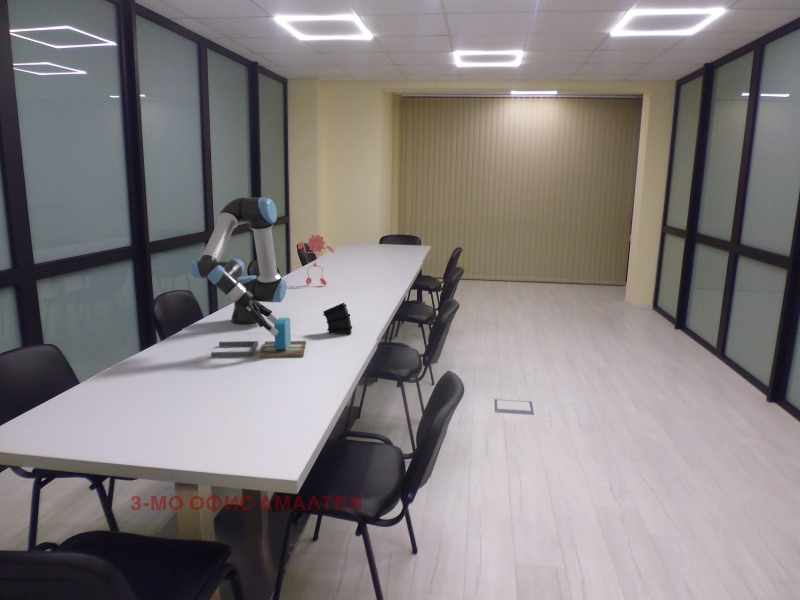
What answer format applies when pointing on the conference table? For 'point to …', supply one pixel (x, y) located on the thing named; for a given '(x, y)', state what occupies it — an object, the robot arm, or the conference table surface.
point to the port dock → (292, 351)
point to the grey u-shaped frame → (236, 354)
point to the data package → (282, 334)
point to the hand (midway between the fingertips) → (278, 329)
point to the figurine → (315, 245)
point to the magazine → (338, 319)
